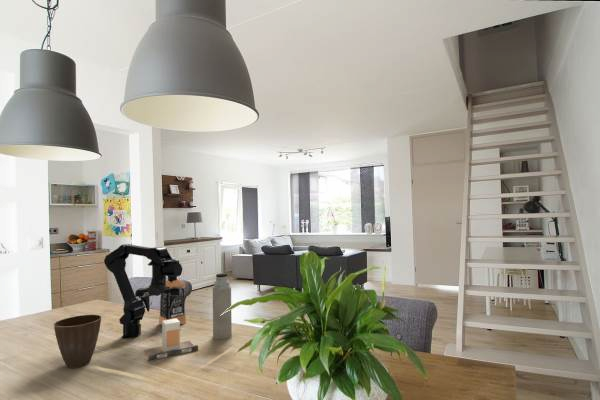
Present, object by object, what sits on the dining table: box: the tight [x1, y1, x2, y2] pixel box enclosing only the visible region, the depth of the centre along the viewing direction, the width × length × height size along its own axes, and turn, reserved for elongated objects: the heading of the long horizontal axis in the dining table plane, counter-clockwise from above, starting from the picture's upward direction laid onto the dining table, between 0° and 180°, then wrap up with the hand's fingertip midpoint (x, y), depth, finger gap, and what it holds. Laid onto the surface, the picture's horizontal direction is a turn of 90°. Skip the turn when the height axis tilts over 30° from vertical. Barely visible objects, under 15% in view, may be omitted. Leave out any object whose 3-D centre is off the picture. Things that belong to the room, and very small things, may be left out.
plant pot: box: [53, 314, 102, 369], centre depth 131 cm, size 15×15×16 cm
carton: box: [161, 318, 181, 352], centre depth 140 cm, size 6×6×12 cm
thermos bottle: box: [212, 273, 233, 340], centre depth 156 cm, size 8×8×28 cm
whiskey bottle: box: [158, 258, 187, 326], centre depth 180 cm, size 10×10×32 cm
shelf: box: [143, 340, 199, 362], centre depth 140 cm, size 18×13×3 cm
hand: (159, 311), depth 157 cm, fingers open, 9 cm apart
